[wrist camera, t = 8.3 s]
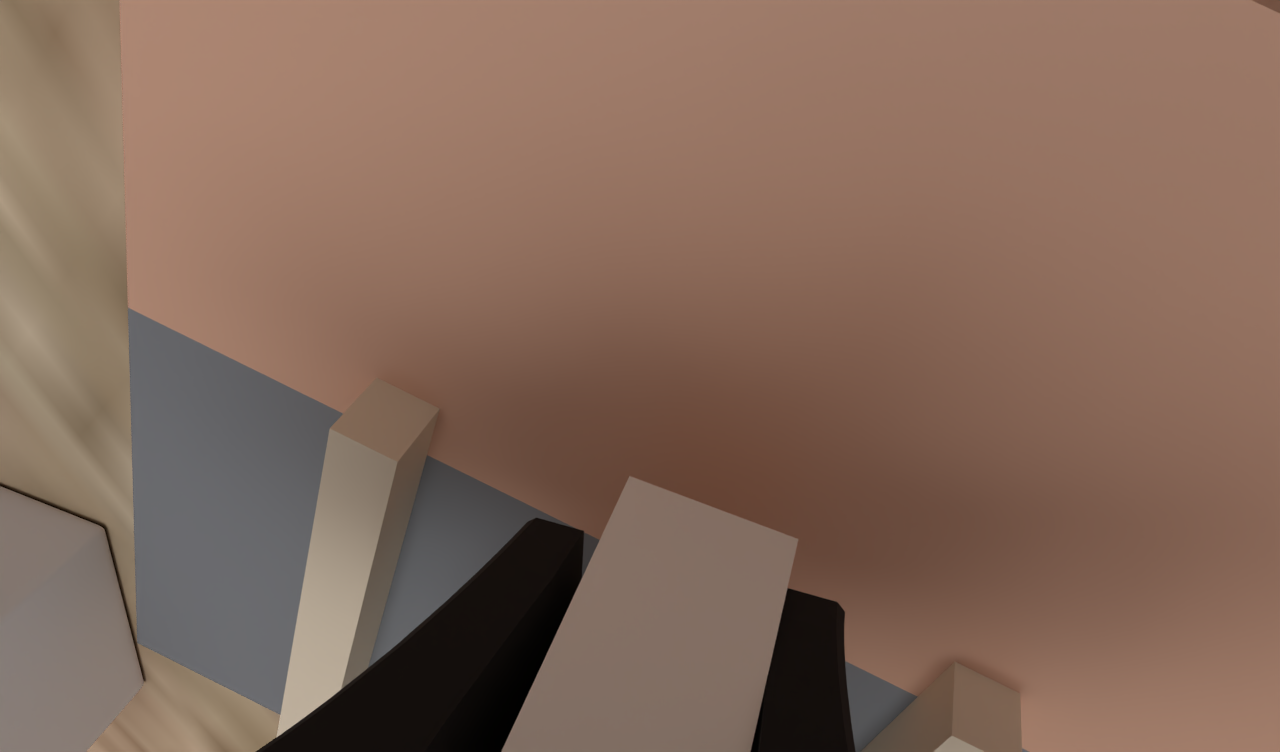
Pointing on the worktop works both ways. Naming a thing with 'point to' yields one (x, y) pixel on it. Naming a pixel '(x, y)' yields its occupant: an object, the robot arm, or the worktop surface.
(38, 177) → the worktop surface
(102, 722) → the milk
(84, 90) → the worktop surface
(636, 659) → the jug
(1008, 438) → the jug holder
